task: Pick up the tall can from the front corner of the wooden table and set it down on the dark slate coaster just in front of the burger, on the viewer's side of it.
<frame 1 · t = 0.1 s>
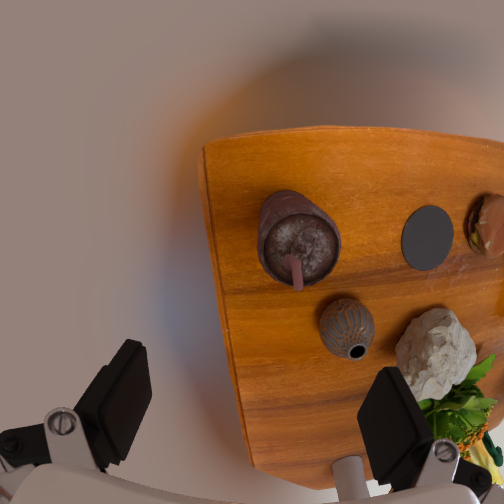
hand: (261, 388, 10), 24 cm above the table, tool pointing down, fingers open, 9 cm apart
candle: (348, 467, 49), on the table
burger: (483, 223, 31), on the table
coaster: (428, 238, 32), on the table
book: (459, 425, 46), on the table
vase: (339, 313, 36), on the table
potted flower: (437, 387, 41), on the table
can: (286, 216, 32), on the table
stone: (427, 338, 37), on the table
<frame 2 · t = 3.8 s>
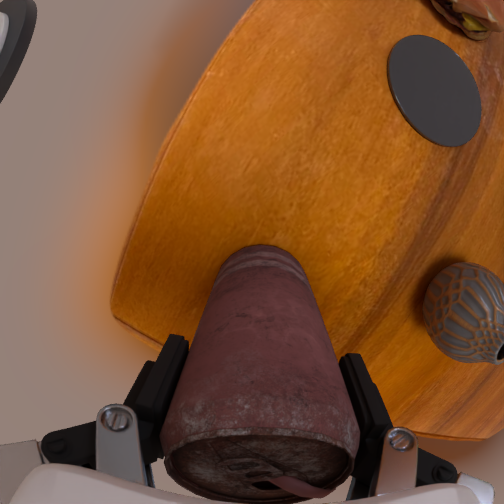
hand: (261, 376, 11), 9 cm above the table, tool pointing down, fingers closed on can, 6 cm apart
burger: (452, 0, 11), on the table
coaster: (438, 88, 14), on the table
vase: (443, 290, 19), on the table
can: (263, 285, 19), on the table, touching gripper
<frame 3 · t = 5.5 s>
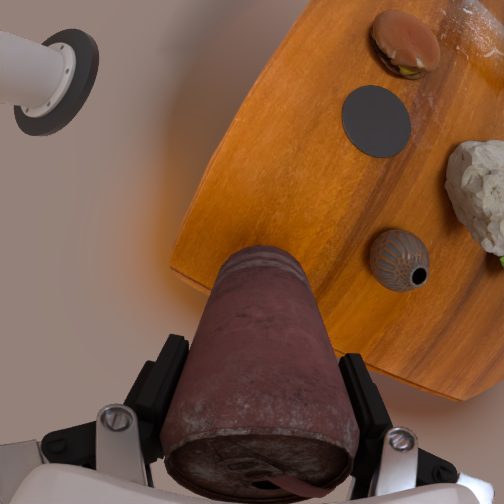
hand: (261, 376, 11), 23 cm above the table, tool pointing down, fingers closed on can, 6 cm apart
burger: (399, 49, 24), on the table
coaster: (377, 120, 28), on the table
vase: (386, 250, 32), on the table
can: (263, 285, 19), point 14 cm above the table, touching gripper
stone: (474, 180, 28), on the table
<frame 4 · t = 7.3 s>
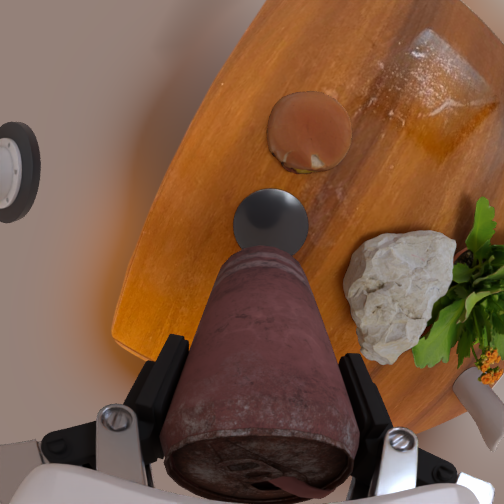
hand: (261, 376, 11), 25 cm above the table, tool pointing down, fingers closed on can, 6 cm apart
candle: (473, 378, 41), on the table
burger: (307, 134, 30), on the table
coaster: (270, 225, 34), on the table
potted flower: (465, 271, 34), on the table
can: (263, 286, 19), point 15 cm above the table, touching gripper
stone: (390, 267, 35), on the table
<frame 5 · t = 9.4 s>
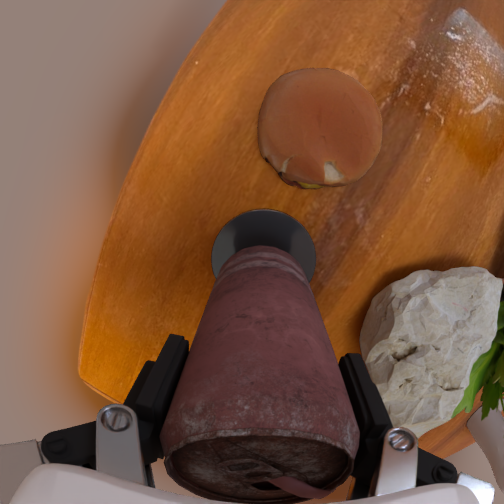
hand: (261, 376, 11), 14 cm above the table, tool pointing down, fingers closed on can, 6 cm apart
candle: (488, 411, 32), on the table
burger: (317, 131, 21), on the table
coaster: (263, 260, 24), on the table
potted flower: (498, 305, 25), on the table
can: (263, 285, 19), point 5 cm above the table, touching gripper
stone: (416, 309, 25), on the table
when the fingers open (9 cm above the table, at t = 11.1 s): can stays where it is, resting on coaster.
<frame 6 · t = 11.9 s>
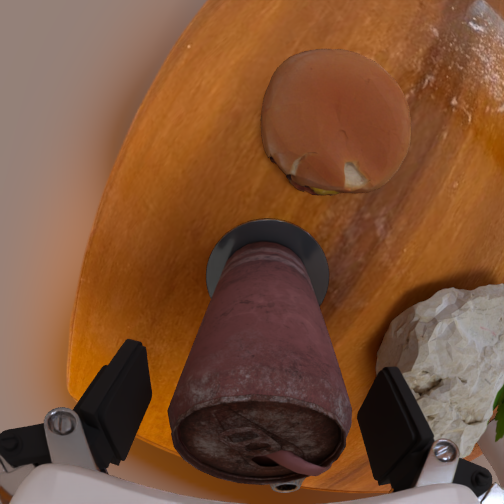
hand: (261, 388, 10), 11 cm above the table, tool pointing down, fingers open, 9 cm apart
candle: (498, 424, 28), on the table
burger: (331, 126, 17), on the table
coaster: (267, 279, 21), on the table
can: (266, 280, 20), resting on coaster
stone: (436, 329, 22), on the table
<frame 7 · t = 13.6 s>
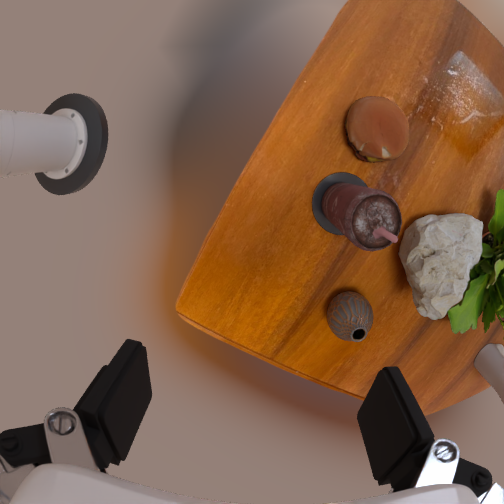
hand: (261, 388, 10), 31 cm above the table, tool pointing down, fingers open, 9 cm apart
candle: (491, 355, 45), on the table
burger: (372, 131, 35), on the table
coaster: (342, 203, 38), on the table
vase: (344, 304, 43), on the table
potted flower: (486, 252, 38), on the table
can: (342, 204, 38), resting on coaster
stone: (430, 245, 39), on the table
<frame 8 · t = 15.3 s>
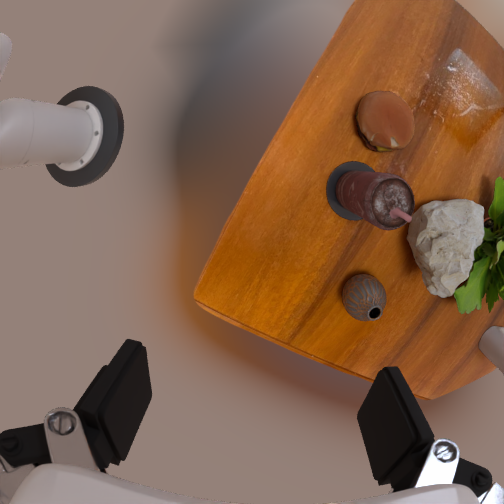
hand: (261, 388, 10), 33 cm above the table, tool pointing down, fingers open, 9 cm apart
candle: (494, 338, 47), on the table
burger: (380, 123, 36), on the table
coaster: (354, 190, 40), on the table
vase: (357, 287, 44), on the table
potted flower: (487, 237, 40), on the table
can: (354, 191, 39), resting on coaster
stone: (435, 229, 41), on the table
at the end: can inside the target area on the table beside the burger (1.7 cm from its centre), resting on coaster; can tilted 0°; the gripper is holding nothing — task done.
